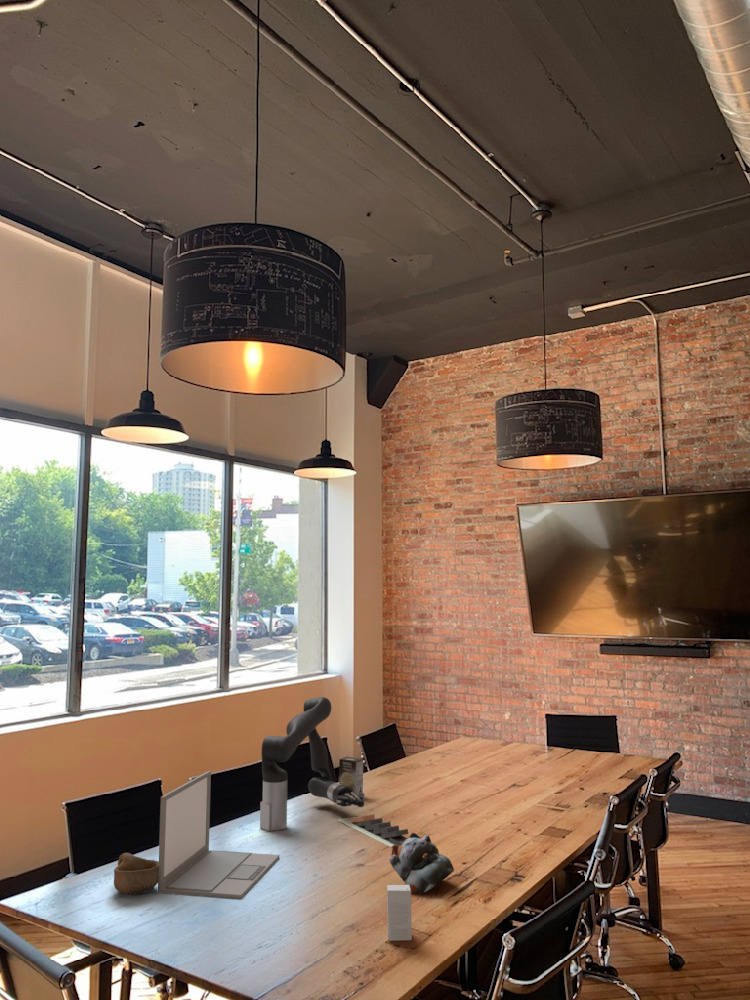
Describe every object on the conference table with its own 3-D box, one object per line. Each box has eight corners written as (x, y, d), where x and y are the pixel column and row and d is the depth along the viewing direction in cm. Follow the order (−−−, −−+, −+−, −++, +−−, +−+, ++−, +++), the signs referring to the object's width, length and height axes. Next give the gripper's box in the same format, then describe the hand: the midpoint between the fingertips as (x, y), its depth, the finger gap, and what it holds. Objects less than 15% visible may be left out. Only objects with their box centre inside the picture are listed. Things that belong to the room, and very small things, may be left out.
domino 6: (389, 837, 265) (405, 845, 257) (401, 835, 268) (417, 842, 259) (389, 842, 265) (405, 850, 256) (401, 839, 267) (417, 847, 259)
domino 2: (357, 821, 284) (370, 820, 276) (368, 819, 286) (382, 818, 279) (358, 826, 283) (371, 824, 276) (369, 824, 286) (382, 822, 278)
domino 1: (350, 818, 288) (362, 816, 281) (361, 816, 291) (374, 814, 283) (350, 822, 288) (363, 820, 280) (362, 820, 290) (374, 818, 283)
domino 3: (364, 825, 279) (378, 823, 271) (376, 823, 282) (390, 821, 274) (365, 830, 278) (379, 828, 271) (377, 828, 281) (390, 826, 273)
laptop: (241, 899, 216) (243, 801, 219) (156, 893, 221) (160, 796, 224) (279, 859, 250) (280, 774, 253) (205, 854, 255) (207, 770, 258)
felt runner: (336, 820, 292) (336, 819, 292) (359, 816, 297) (359, 815, 297) (389, 847, 260) (389, 846, 260) (413, 842, 265) (413, 841, 265)
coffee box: (338, 797, 327) (338, 758, 329) (346, 793, 333) (346, 756, 335) (355, 799, 322) (355, 761, 324) (363, 796, 328) (363, 758, 330)
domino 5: (381, 833, 269) (395, 831, 262) (393, 831, 272) (407, 828, 264) (382, 838, 269) (396, 836, 261) (393, 836, 271) (408, 833, 264)
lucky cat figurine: (416, 899, 215) (392, 844, 221) (400, 902, 226) (377, 850, 231) (462, 871, 223) (438, 820, 229) (444, 876, 234) (422, 827, 239)
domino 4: (372, 829, 274) (386, 827, 267) (384, 827, 277) (398, 825, 269) (373, 834, 274) (387, 832, 266) (385, 831, 276) (399, 830, 269)
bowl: (89, 886, 221) (99, 849, 225) (128, 886, 232) (136, 851, 235) (126, 900, 211) (136, 861, 215) (165, 899, 221) (174, 862, 225)
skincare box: (410, 933, 193) (410, 884, 195) (411, 941, 189) (411, 890, 190) (386, 933, 193) (386, 884, 195) (387, 941, 189) (387, 890, 190)
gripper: (325, 786, 298) (347, 796, 284) (354, 782, 305) (376, 791, 290) (325, 806, 297) (347, 817, 283) (354, 801, 304) (376, 811, 289)
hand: (362, 804), depth 287 cm, fingers closed
